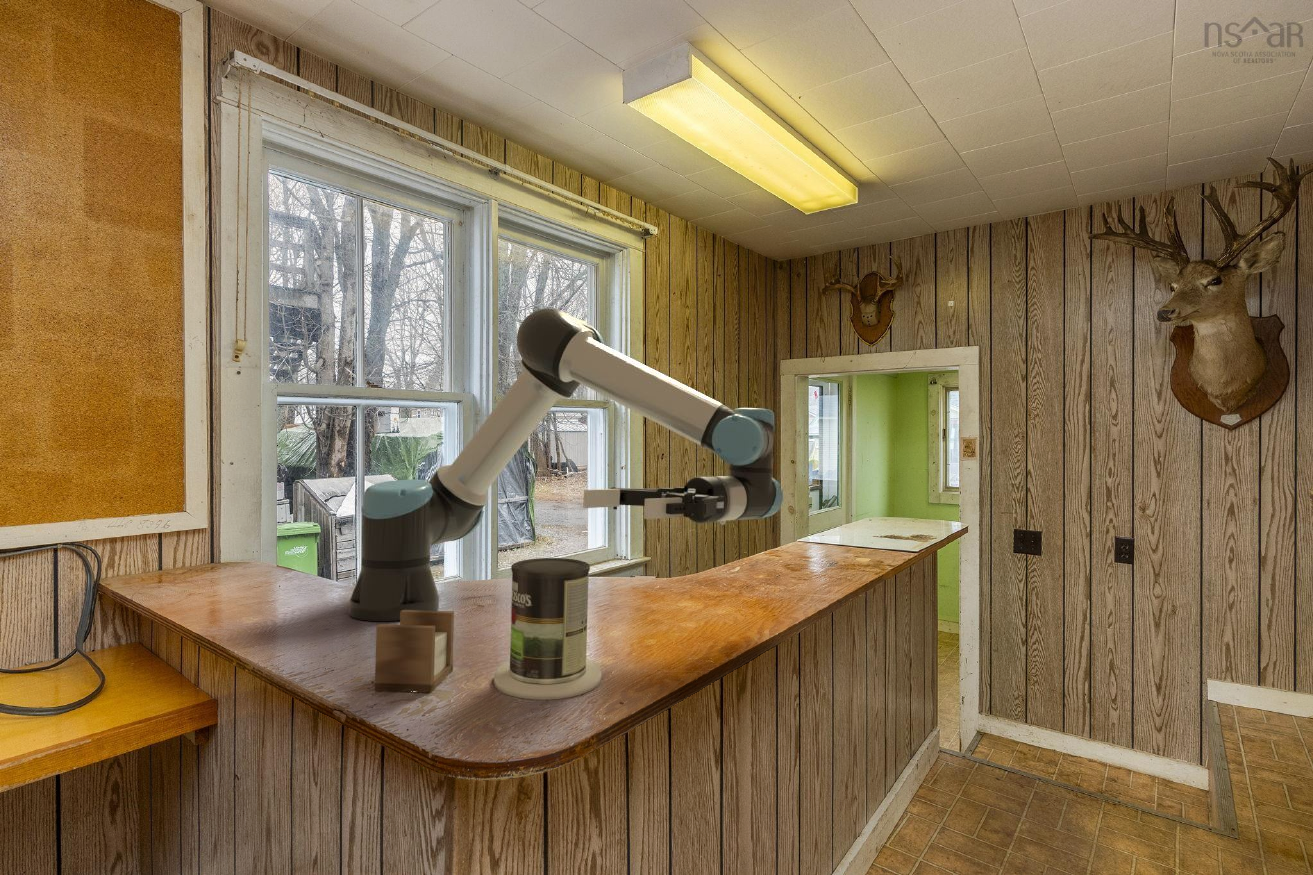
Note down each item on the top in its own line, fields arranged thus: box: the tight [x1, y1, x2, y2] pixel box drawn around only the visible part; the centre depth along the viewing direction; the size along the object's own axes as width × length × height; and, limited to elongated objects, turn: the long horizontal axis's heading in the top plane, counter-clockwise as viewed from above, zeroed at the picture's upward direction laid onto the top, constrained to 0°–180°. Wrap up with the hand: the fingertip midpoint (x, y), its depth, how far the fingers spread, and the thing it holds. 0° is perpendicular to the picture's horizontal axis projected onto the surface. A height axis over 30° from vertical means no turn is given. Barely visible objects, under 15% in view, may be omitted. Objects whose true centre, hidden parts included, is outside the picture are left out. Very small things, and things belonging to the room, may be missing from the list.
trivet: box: [493, 657, 603, 701], centre depth 86 cm, size 14×14×1 cm
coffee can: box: [509, 557, 591, 685], centre depth 86 cm, size 10×10×14 cm
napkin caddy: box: [374, 610, 455, 693], centre depth 84 cm, size 7×8×8 cm
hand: (613, 503), depth 92 cm, fingers open, 13 cm apart
